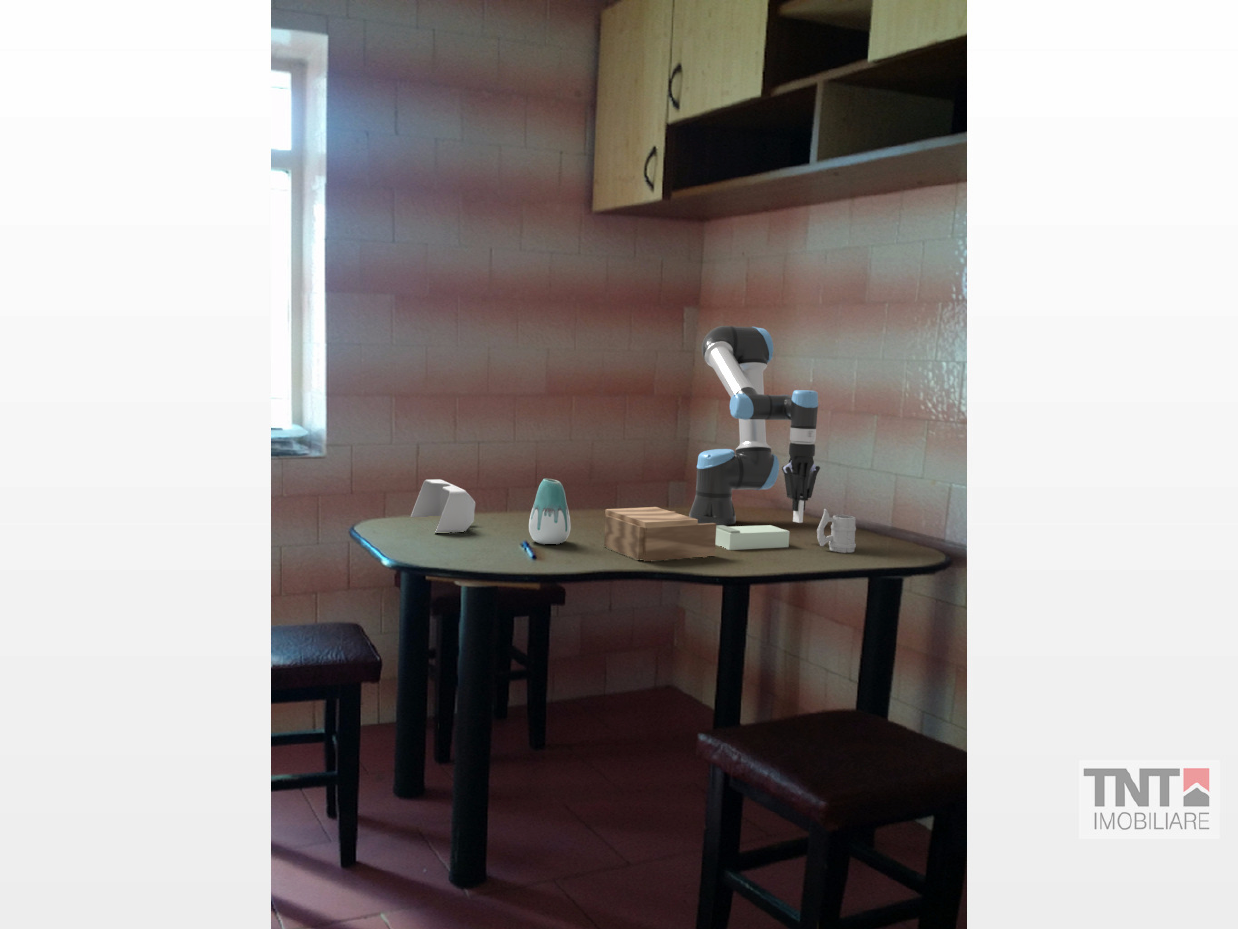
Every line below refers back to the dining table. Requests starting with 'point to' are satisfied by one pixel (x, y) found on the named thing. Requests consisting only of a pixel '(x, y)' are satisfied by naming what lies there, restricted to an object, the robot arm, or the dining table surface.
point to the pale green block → (751, 537)
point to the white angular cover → (445, 505)
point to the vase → (550, 514)
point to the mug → (838, 532)
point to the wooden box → (657, 534)
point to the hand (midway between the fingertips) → (797, 521)
